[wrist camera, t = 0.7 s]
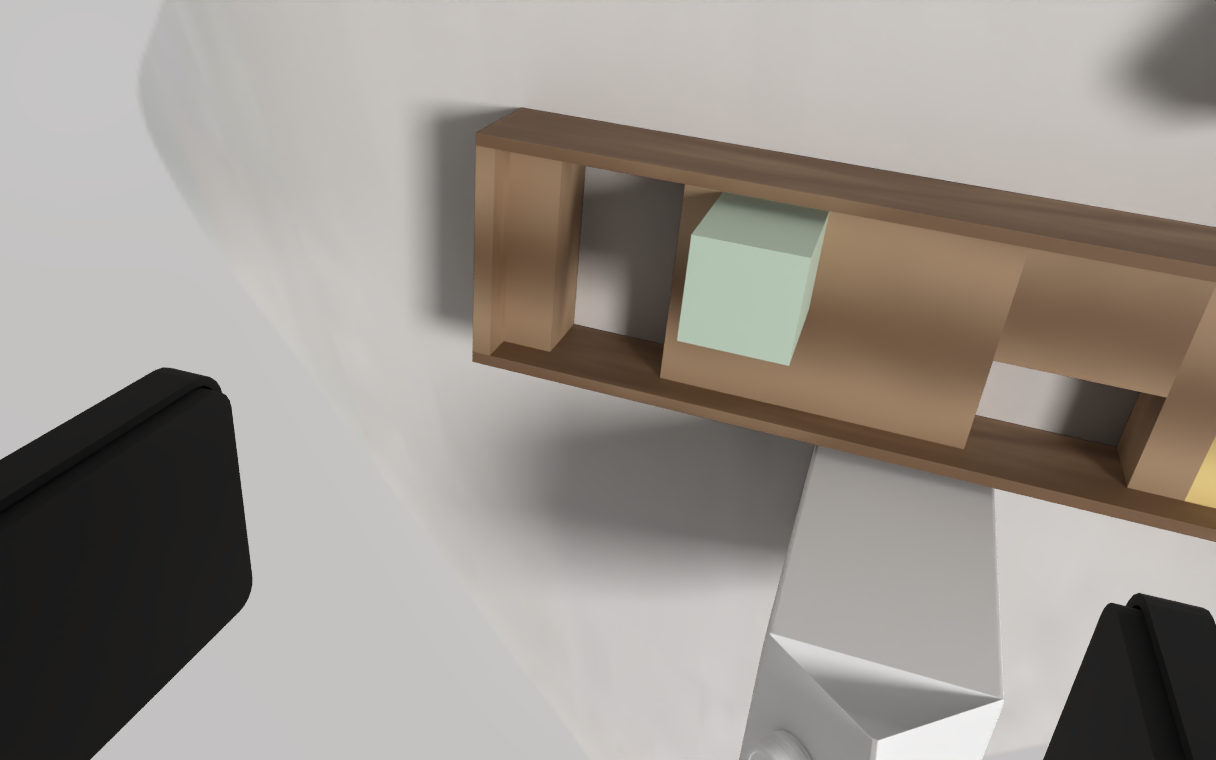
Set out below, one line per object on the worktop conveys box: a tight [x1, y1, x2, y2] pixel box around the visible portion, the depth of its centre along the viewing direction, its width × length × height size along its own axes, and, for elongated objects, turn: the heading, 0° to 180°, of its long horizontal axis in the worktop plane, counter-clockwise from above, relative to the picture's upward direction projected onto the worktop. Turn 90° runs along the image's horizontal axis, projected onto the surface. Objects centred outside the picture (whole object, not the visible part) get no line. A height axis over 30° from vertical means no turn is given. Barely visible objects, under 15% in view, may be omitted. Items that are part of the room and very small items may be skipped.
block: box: [677, 192, 829, 366], centre depth 34 cm, size 4×4×5 cm
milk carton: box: [739, 445, 1004, 760], centre depth 35 cm, size 7×7×19 cm
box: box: [472, 108, 1216, 542], centre depth 37 cm, size 10×35×4 cm, turn 85°
